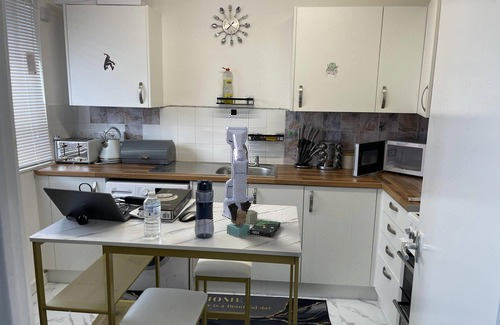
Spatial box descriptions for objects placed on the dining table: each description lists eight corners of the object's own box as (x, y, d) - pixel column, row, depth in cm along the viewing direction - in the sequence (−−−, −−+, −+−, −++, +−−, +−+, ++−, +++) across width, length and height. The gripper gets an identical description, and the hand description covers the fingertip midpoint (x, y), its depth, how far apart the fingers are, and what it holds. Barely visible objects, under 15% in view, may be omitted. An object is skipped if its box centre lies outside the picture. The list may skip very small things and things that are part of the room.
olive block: (243, 221, 181) (244, 211, 180) (251, 219, 184) (251, 209, 183) (249, 224, 177) (250, 213, 176) (257, 222, 180) (257, 212, 179)
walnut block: (231, 222, 164) (231, 211, 164) (239, 220, 167) (239, 209, 166) (237, 225, 161) (237, 213, 160) (245, 223, 164) (246, 212, 163)
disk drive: (272, 239, 161) (280, 227, 175) (272, 233, 161) (280, 221, 175) (249, 235, 164) (258, 224, 178) (249, 229, 164) (259, 218, 178)
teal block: (226, 234, 164) (226, 225, 164) (237, 229, 170) (237, 221, 169) (239, 238, 160) (239, 229, 159) (249, 233, 165) (249, 225, 165)
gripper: (231, 192, 154) (230, 225, 156) (258, 188, 163) (257, 218, 165) (221, 189, 159) (220, 220, 162) (248, 184, 168) (247, 214, 171)
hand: (238, 219), depth 164 cm, fingers closed on walnut block, 4 cm apart
